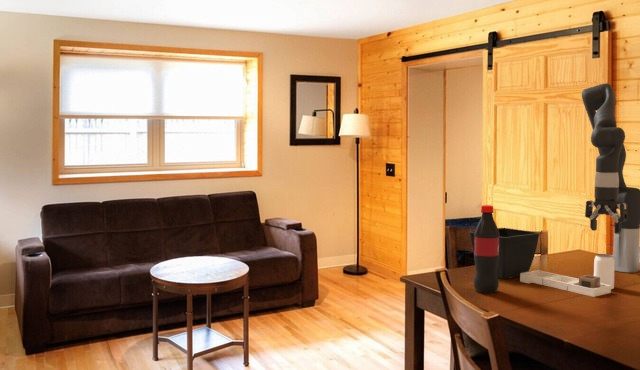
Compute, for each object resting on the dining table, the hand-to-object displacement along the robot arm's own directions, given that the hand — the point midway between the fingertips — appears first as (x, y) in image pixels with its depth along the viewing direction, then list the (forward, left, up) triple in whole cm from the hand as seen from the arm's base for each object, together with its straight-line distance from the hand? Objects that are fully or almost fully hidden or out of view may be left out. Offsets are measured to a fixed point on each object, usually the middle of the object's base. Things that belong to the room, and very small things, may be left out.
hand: (605, 231), depth 214 cm
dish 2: (+10, -9, -20) cm, 24 cm away
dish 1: (+10, -19, -20) cm, 29 cm away
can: (0, 0, -20) cm, 20 cm away
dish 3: (+10, +1, -20) cm, 23 cm away
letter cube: (+10, +1, -19) cm, 22 cm away
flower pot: (+11, -35, -20) cm, 42 cm away
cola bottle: (+36, -21, -20) cm, 47 cm away
